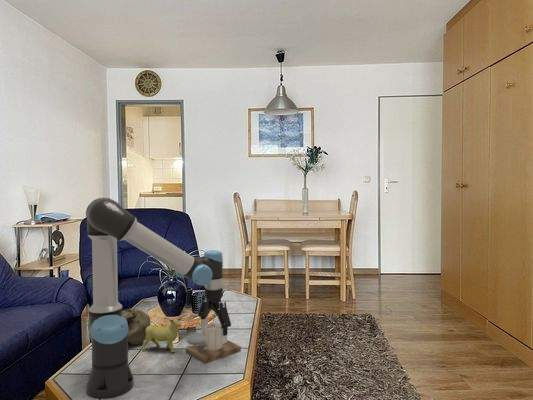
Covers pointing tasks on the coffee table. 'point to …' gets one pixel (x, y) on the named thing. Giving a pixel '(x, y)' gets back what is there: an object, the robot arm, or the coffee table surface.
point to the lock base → (212, 351)
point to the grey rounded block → (213, 336)
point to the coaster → (196, 339)
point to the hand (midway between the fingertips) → (214, 338)
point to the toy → (162, 334)
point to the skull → (136, 324)
